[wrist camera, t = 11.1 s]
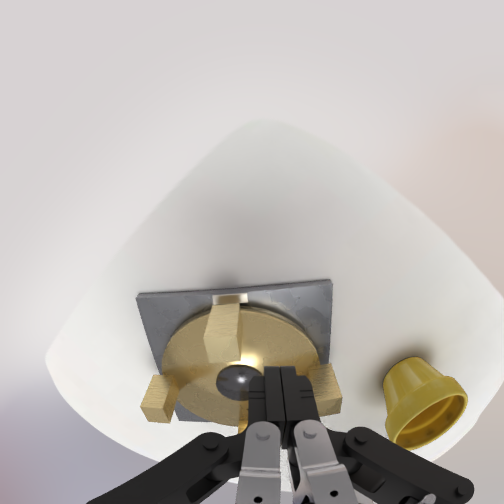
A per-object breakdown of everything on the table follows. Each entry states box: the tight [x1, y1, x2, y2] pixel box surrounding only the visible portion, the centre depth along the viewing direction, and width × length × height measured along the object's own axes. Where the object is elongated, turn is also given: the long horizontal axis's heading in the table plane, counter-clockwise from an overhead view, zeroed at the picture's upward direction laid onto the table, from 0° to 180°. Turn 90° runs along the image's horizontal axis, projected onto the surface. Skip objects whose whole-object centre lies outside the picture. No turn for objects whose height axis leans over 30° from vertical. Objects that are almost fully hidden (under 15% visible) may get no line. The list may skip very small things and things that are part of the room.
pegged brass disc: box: [140, 303, 342, 434], centre depth 25 cm, size 19×19×6 cm
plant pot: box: [383, 357, 468, 451], centre depth 26 cm, size 10×10×10 cm
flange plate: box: [136, 280, 333, 422], centre depth 29 cm, size 19×19×1 cm
